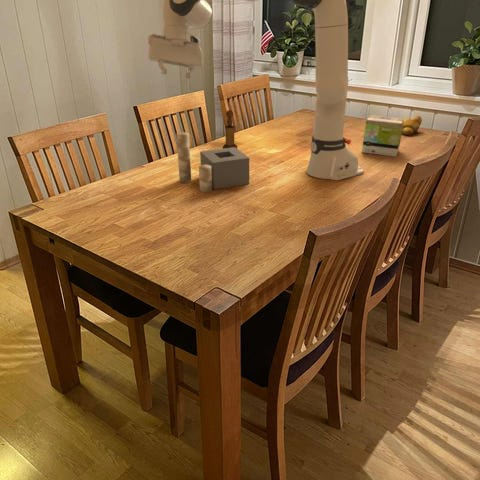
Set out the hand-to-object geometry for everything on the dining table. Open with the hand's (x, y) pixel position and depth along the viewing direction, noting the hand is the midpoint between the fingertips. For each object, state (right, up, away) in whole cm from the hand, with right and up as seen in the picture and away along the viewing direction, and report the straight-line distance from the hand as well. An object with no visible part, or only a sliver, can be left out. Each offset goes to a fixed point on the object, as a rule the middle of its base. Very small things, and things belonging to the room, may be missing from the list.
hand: (176, 76), depth 171 cm
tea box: (+85, -21, +37) cm, 95 cm away
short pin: (+11, -42, -2) cm, 44 cm away
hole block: (+17, -37, +7) cm, 41 cm away
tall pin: (+3, -38, +6) cm, 38 cm away
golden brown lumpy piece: (+107, -6, +64) cm, 125 cm away
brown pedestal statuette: (+19, -20, +38) cm, 47 cm away
